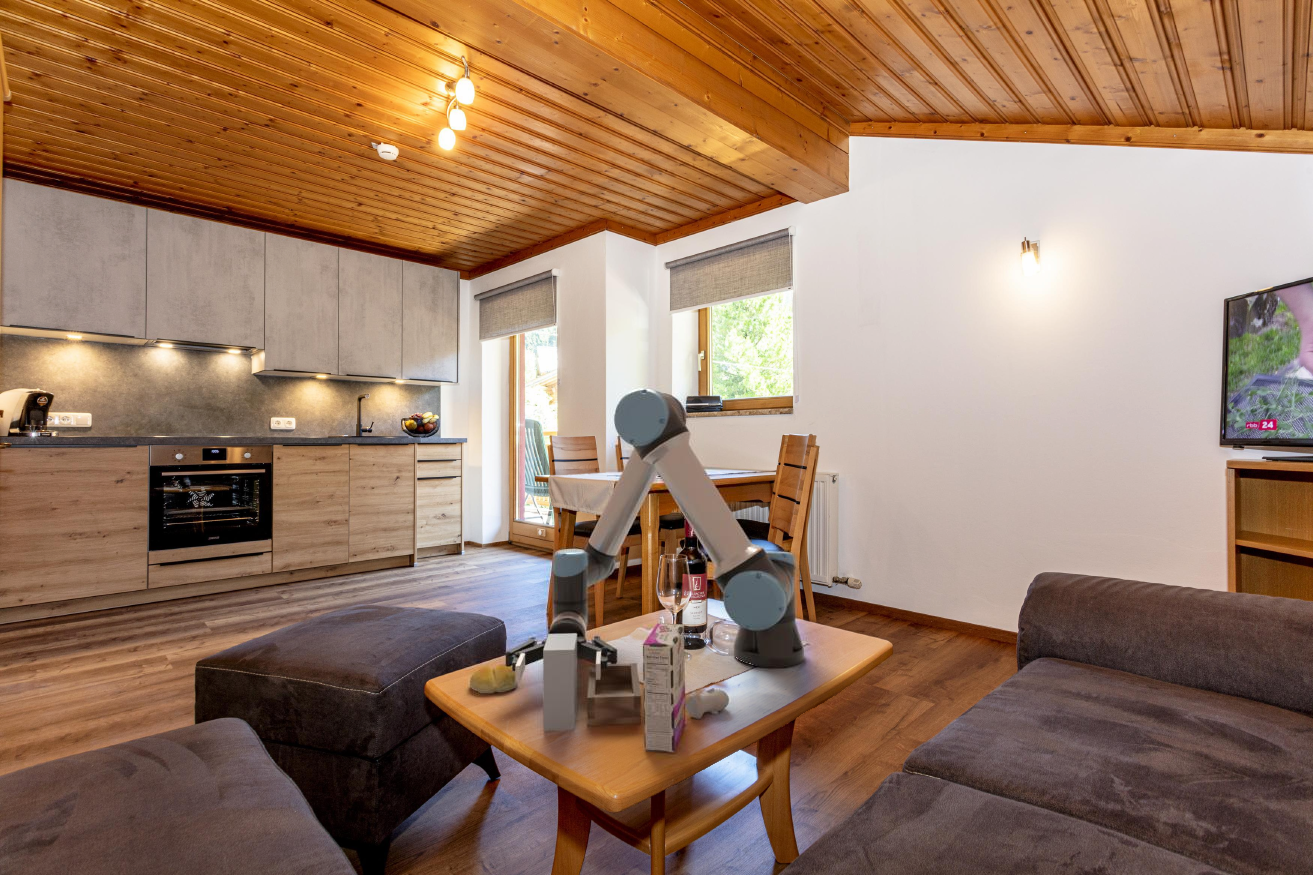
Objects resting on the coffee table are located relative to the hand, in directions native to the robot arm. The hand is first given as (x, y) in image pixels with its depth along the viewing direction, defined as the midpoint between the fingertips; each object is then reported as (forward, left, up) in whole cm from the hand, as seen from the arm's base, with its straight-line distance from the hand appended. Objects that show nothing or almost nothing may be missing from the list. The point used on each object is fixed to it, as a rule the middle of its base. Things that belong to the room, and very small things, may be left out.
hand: (558, 672), depth 108 cm
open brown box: (-10, -4, -7) cm, 13 cm away
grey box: (-1, +1, -7) cm, 8 cm away
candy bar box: (-18, +9, -8) cm, 21 cm away
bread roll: (+13, -15, -8) cm, 22 cm away
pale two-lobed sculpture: (-25, 0, -8) cm, 27 cm away
